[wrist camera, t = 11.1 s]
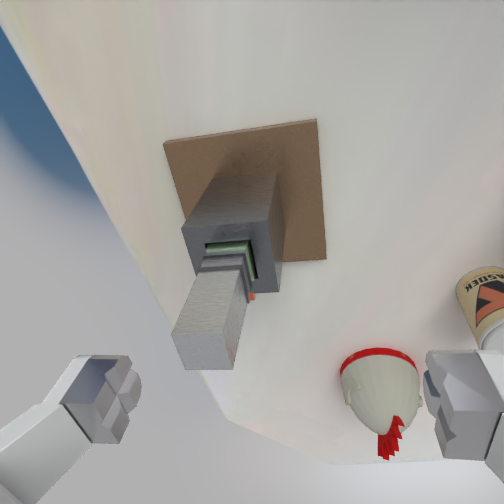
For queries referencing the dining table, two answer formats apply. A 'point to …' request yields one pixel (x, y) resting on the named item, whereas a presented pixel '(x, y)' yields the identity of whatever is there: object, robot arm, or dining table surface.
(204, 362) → the steel post
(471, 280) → the coffee cup
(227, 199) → the post sleeve
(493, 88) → the dining table surface
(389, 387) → the kitchen timer
